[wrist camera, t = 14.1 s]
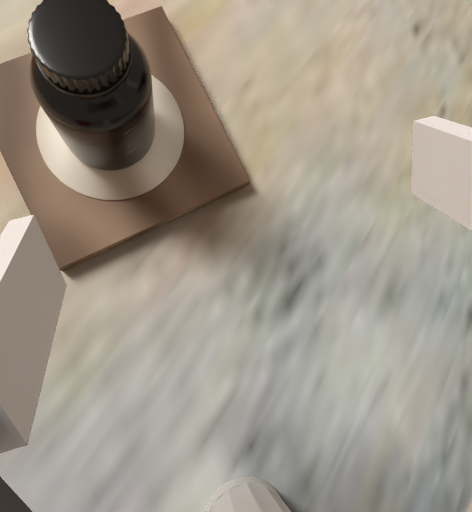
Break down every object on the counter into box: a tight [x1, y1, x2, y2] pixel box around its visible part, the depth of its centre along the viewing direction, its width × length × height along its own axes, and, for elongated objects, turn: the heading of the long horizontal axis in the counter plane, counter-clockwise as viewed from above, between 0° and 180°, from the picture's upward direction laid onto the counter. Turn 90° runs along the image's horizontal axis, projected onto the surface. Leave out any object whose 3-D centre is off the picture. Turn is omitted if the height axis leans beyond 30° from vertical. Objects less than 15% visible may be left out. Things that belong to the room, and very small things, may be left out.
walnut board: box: [0, 6, 250, 271], centre depth 33 cm, size 16×16×2 cm
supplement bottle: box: [27, 0, 155, 171], centre depth 27 cm, size 7×7×12 cm
